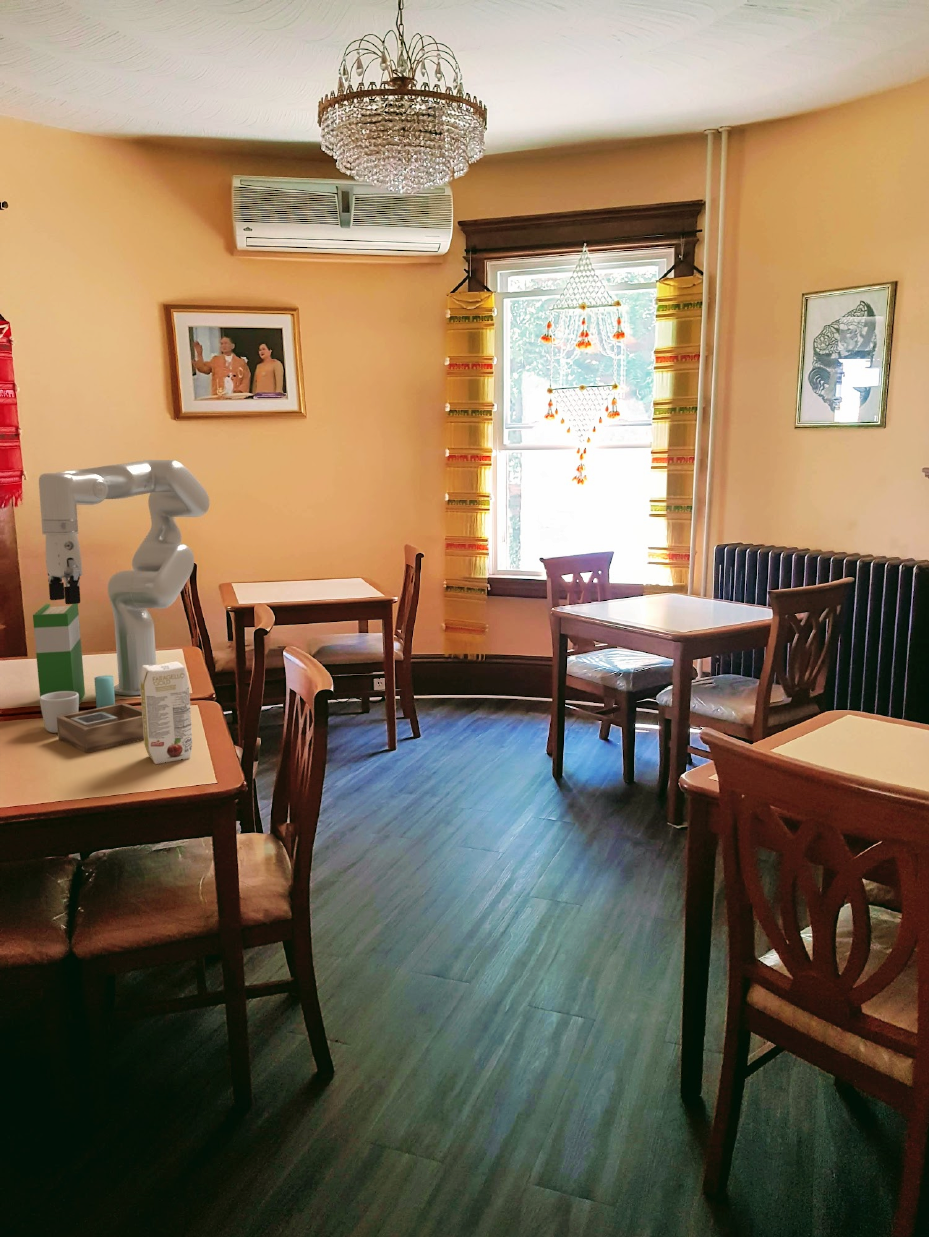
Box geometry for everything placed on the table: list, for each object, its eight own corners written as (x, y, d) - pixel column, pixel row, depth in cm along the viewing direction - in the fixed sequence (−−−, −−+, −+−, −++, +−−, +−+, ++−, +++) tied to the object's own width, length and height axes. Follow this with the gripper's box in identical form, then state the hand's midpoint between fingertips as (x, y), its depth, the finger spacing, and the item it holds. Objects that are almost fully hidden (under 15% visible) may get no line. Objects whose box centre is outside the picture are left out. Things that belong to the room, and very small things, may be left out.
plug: (111, 715, 205) (108, 674, 203) (119, 719, 202) (116, 677, 201) (94, 719, 202) (91, 677, 200) (102, 722, 199) (99, 680, 198)
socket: (104, 729, 191) (102, 711, 190) (118, 735, 186) (117, 717, 186) (72, 736, 186) (70, 718, 185) (86, 743, 181) (85, 724, 181)
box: (125, 724, 198) (123, 702, 197) (155, 736, 189) (154, 714, 188) (58, 738, 187) (56, 716, 186) (87, 753, 178) (85, 729, 177)
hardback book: (53, 696, 223) (46, 604, 219) (85, 694, 225) (77, 602, 221) (41, 714, 206) (32, 615, 202) (75, 712, 208) (67, 613, 204)
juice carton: (195, 758, 174) (190, 666, 171) (151, 766, 170) (145, 672, 167) (185, 748, 181) (180, 659, 177) (142, 756, 176) (136, 664, 173)
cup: (31, 727, 196) (28, 693, 194) (67, 720, 201) (64, 687, 200) (51, 737, 188) (48, 702, 187) (87, 729, 194) (84, 695, 193)
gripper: (91, 528, 195) (96, 603, 198) (63, 525, 207) (67, 596, 210) (56, 529, 190) (61, 607, 193) (29, 526, 202) (35, 599, 205)
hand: (65, 601), depth 201 cm, fingers open, 9 cm apart
